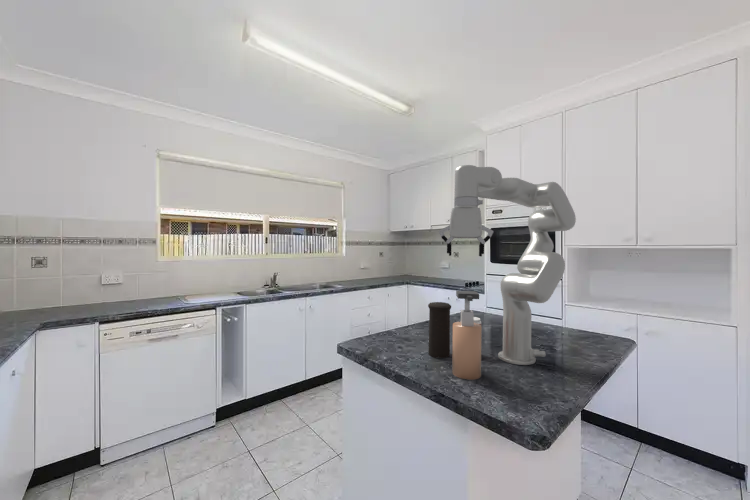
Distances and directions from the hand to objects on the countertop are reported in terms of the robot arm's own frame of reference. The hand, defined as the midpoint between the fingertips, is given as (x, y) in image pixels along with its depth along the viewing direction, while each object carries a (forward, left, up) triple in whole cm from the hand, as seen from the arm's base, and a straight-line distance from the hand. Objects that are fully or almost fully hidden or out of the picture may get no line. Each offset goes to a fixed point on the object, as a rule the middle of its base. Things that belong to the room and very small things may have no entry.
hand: (465, 256), depth 104 cm
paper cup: (-5, -17, -39) cm, 42 cm away
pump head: (-1, +4, -18) cm, 18 cm away
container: (+7, -15, -39) cm, 42 cm away
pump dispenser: (-1, +2, -38) cm, 38 cm away
